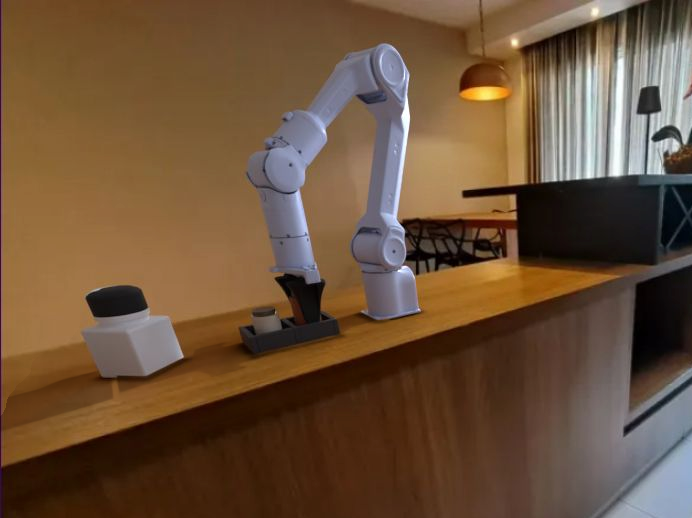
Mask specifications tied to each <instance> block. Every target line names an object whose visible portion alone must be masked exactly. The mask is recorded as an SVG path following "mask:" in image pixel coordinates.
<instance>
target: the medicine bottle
mask: <svg viewBox="0 0 692 518" xmlns="http://www.w3.org/2000/svg"><path fill="white" fill-rule="evenodd" d="M84 299H85V302H86V304H87V306H88V308H89V310H90V312H91V315H92V317H93V319H94V321H95V322H96V323H98V324H95V325H92V326H88V327H86V328H83V329H81V330H80V334H81V336H82V338H83V340H84V342H85V345H86V347H87V349H88V351H89V353H90V355H91V357H92V359H93V362H94V363H95V366H96V368H97V370H98V372H99V374H100V376H101V377H102V378H106V379H118V376H121V377H122V376H124V377H125V376H126V377H128V376H129V377H145V376H146V377H147V376H149V375H151V374H153V373H155V372H157V371H159V370H162V369H163V368H165V367H167V366H170V365H172V364H173V363H175V362H177V361H179V360H181V359H184V358H185V356H184V353H183V351H182V349H181V346H180V343H179V340H178V337H177V335H176V333H175V330H174V327H173V324H172V322H171V319H170V317H169V316H168V315H149V314H151V310H150V308H149V305H148V302H147V300H146V297H145V295H144V292H143V290H142V288H140V287H139V286H135V285H131V284H119V285H110V286H104V287H99V288H94V289H92V290H91V291H88V293H86V294H85V296H84Z"/></svg>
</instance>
